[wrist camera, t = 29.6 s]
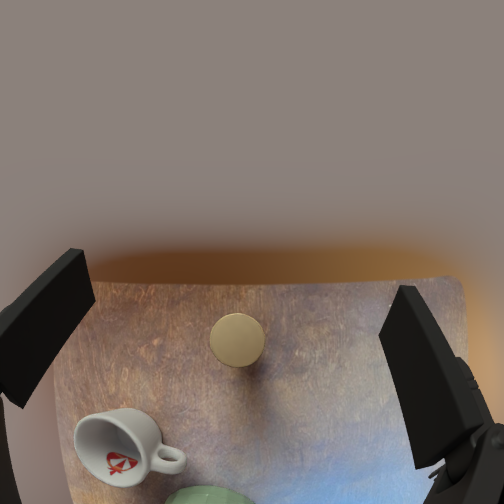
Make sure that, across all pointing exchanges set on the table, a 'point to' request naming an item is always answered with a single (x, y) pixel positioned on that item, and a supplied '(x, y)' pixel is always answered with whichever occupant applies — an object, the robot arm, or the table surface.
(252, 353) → the tan wooden cylinder
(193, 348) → the table surface
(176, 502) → the bowl
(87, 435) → the cup
